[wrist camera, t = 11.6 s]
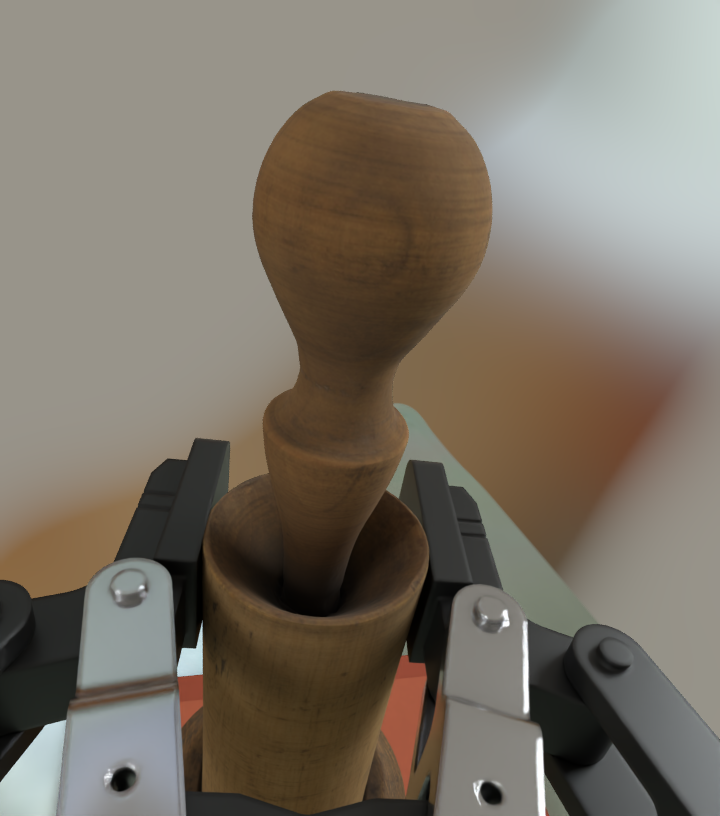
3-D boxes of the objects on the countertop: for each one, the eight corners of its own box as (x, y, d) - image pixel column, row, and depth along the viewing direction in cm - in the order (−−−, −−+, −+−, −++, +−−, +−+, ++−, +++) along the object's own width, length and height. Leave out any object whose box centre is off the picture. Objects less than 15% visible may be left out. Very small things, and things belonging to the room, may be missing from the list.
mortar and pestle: (135, 755, 17) (76, 34, 8) (340, 692, 20) (471, 95, 11) (168, 1065, 12) (114, 106, 3) (437, 927, 15) (838, 185, 6)
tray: (476, 654, 34) (479, 646, 33) (585, 918, 24) (591, 911, 23) (92, 692, 29) (91, 683, 28) (31, 1046, 19) (28, 1039, 18)
